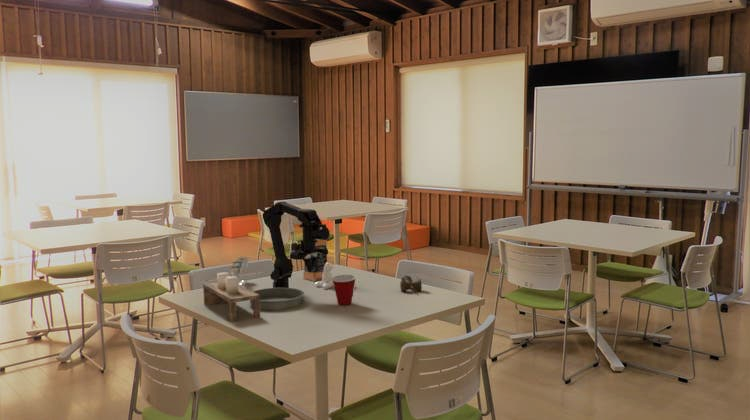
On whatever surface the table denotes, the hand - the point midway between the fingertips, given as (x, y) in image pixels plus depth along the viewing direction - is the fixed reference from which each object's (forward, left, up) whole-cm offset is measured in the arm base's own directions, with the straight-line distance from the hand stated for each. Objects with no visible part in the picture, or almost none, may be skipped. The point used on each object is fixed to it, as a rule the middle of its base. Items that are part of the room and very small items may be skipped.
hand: (309, 272), depth 284 cm
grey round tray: (+17, 0, -12) cm, 21 cm away
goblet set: (+17, -41, -12) cm, 46 cm away
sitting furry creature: (-17, -15, -12) cm, 25 cm away
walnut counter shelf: (+37, 0, -12) cm, 39 cm away
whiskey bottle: (-22, -35, -12) cm, 43 cm away
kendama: (-46, +14, -12) cm, 49 cm away
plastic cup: (-7, +19, -12) cm, 23 cm away
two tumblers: (+38, 0, -3) cm, 39 cm away
